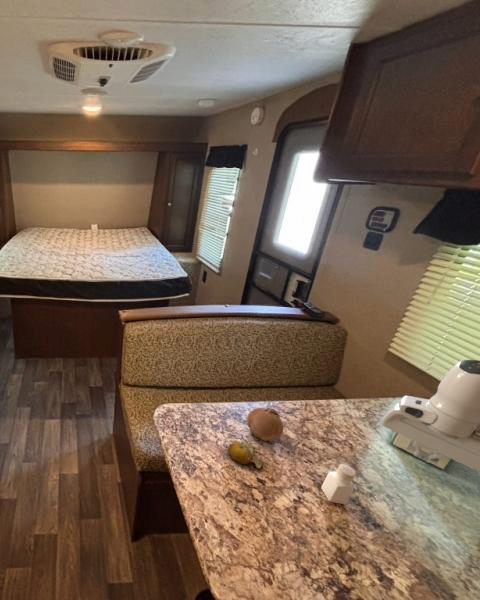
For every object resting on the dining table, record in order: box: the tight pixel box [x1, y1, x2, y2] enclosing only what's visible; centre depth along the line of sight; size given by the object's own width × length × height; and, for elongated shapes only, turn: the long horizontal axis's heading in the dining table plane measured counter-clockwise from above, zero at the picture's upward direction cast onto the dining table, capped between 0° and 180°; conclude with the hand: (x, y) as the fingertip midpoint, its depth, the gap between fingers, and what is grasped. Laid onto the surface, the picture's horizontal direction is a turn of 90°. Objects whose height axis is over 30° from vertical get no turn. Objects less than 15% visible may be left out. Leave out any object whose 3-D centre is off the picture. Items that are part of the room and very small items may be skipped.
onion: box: [246, 407, 284, 442], centre depth 94 cm, size 10×9×10 cm
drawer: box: [392, 434, 451, 470], centre depth 90 cm, size 18×10×8 cm, turn 129°
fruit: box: [227, 441, 263, 470], centre depth 87 cm, size 8×8×4 cm
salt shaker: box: [321, 463, 357, 505], centre depth 76 cm, size 4×4×10 cm
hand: (421, 458), depth 85 cm, fingers closed, pressing on drawer
